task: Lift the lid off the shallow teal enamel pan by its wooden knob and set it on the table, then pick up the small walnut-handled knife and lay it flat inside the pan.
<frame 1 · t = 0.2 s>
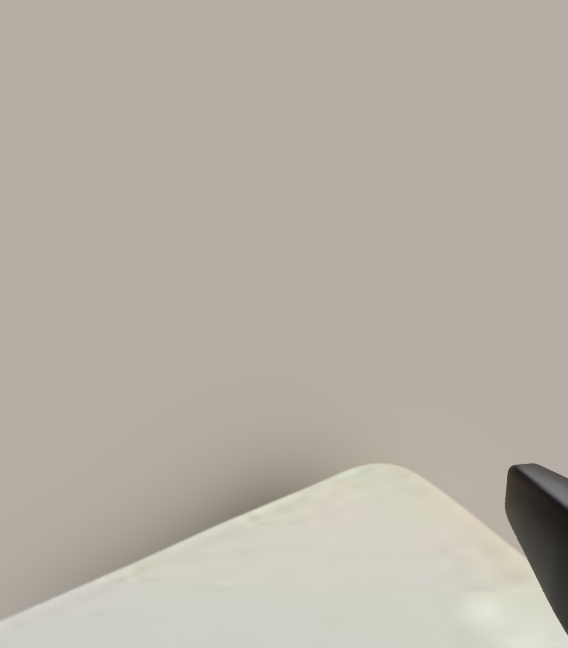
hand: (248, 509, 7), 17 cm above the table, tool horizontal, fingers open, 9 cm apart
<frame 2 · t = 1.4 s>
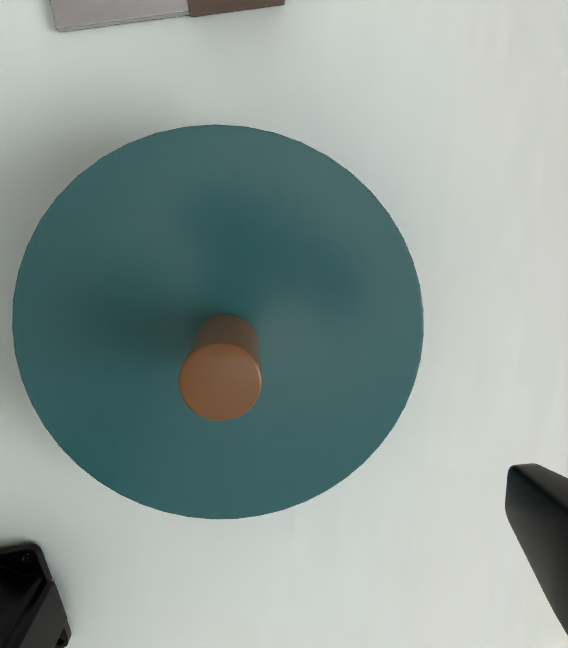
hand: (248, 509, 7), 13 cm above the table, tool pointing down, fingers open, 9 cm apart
lid: (227, 340, 16), point 4 cm above the table, touching pot
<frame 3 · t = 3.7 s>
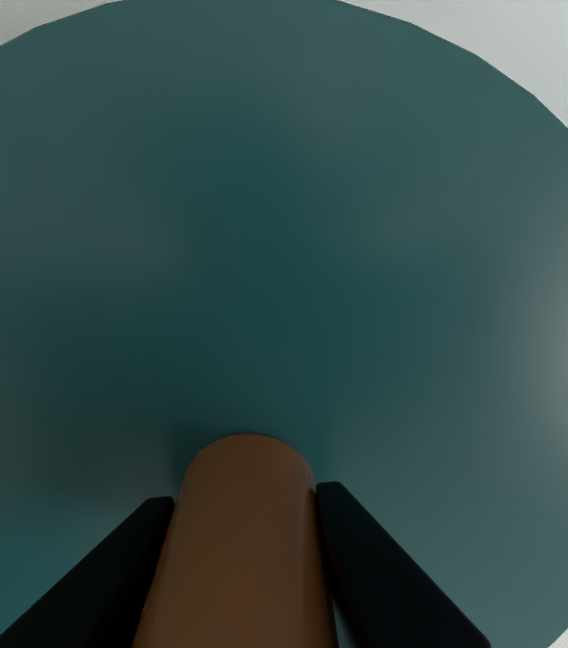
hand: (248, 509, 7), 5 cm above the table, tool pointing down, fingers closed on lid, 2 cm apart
lid: (250, 471, 8), point 4 cm above the table, touching gripper, pot
when the fingers open (2 cm above the table, at t = 9.2 s): lid stays where it is, point 1 cm above the table.
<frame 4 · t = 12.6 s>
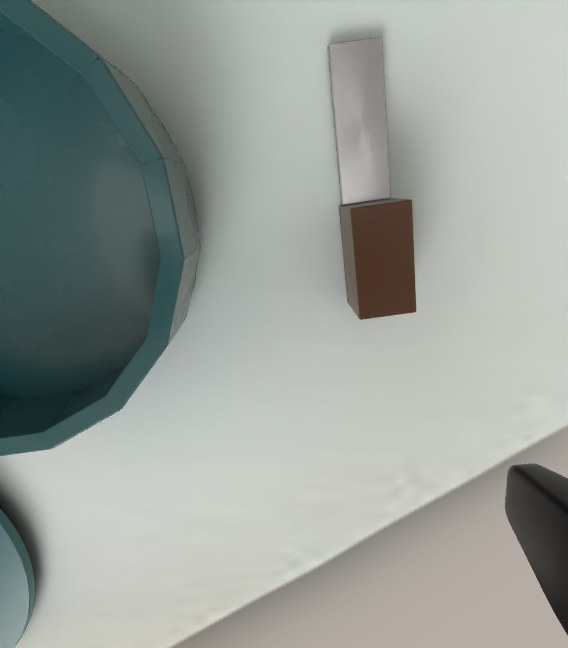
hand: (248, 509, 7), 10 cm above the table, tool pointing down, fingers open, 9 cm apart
knife: (363, 182, 16), on the table
pot: (3, 232, 16), on the table
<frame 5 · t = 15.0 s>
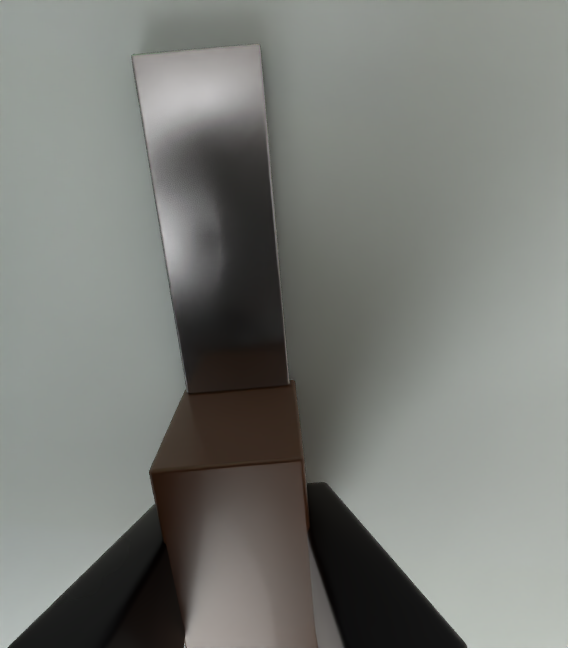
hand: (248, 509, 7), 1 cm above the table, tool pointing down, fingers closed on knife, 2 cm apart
knife: (235, 346, 7), on the table, touching gripper
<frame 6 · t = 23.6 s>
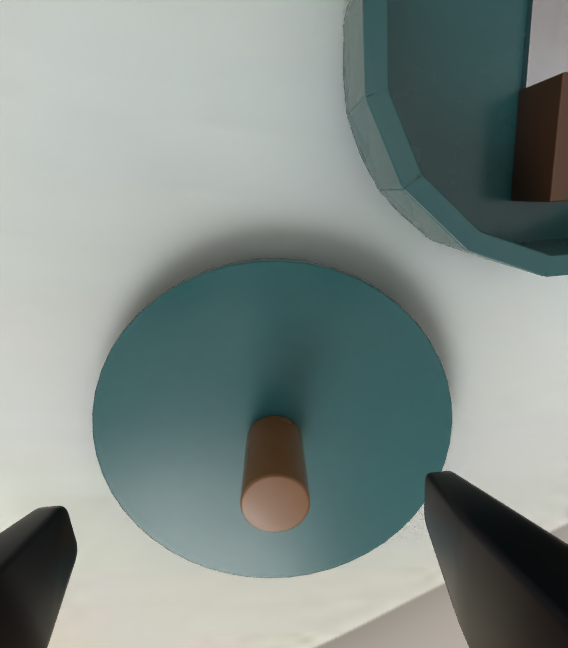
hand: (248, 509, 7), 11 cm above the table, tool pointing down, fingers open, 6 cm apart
knife: (548, 65, 15), resting on pot
lid: (274, 433, 19), point 1 cm above the table
pot: (543, 56, 15), on the table
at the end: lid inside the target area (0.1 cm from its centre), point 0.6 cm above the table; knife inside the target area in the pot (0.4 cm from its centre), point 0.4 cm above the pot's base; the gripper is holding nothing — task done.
